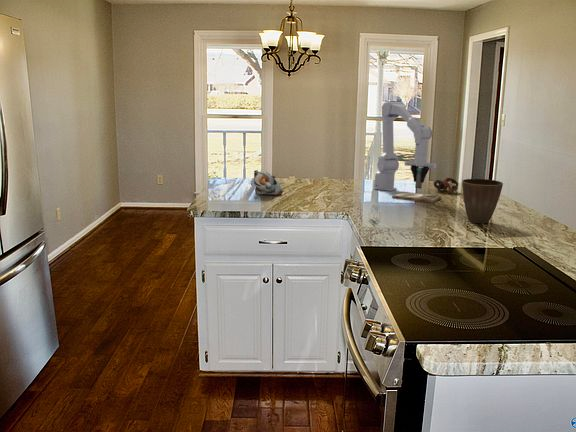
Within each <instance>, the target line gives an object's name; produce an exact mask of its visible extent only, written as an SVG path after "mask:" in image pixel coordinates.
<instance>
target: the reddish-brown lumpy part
mask: <svg viewBox="0 0 576 432" xmlns="http://www.w3.org/2000/svg"><path fill="white" fill-rule="evenodd" d="M449 182H451V183H449ZM437 184H438V185H437ZM451 184H455V185H451ZM433 186H434V188H435V189H437V191H438V192H439V191H440V190H443V191H446V193H447V194H451V193H452V192H455V191H456V192H457V190H458V189H459V187H458V186H459V183H458V181H457V180H456V179H454V178H451V177H445V178H444V179H442V180H439V179H435V180H434V181H433Z"/></svg>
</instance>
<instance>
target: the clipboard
mask: <svg viewBox="0 0 576 432" xmlns="http://www.w3.org/2000/svg"><path fill="white" fill-rule="evenodd" d="M441 198H442V196H441V195H435V194H430V193H429V194H425V193H419V192H418V193H417V192H408V191H400V192H398V193H396V194H394V195H392V199H397V200H406V201H413V202H422V203H429V204H433V203H434V202H437V201H438V200H440V199H441Z"/></svg>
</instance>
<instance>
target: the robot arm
mask: <svg viewBox="0 0 576 432" xmlns="http://www.w3.org/2000/svg"><path fill="white" fill-rule="evenodd" d="M399 117H400V118H402V119H403V120H404V121H405V122H406V126H407V128H408V129H410V131H411V132H412V133H413V138H414V143H415V148H414V161H411V160H405V161H404V166H405V167H406V166H409V167H410V171H411V174H412V177H413V182H414V183H416V173H417V168H422V177H421V183H422V184H423V183H424V182H425V180H426V176H427V174H428V173H429V171H430V169H436V168H437V163H432V162H428V154H429V153H428V152H429V140H430V139H431V138H432V136H433V130H432V129H431V127H430V126H425V124H424V123H422V122H421V121H420V119H419V117H416V116H415V117H414V116H412V114H411V113H410V111H408V109H407V106H406V103H404V102H403V101H385V102H384V103H383V104H382V106H381V119H382V121H381V122H382V125H381V126H382V153H381V154H380V155H379V156H378V161H377V164H376V166H377V167H376V168H377V170H378V171H376V172H375V175H374V187H373V189H374V190H379V191H389V192H392V191H395V190H396V189H397V187H395V173H396V172H397V171H398V169H399V167H400V162H399V159H398V155H397V154H396V153H395V149H394V146H395V145H394V121H395V120H396V119H397V118H399Z"/></svg>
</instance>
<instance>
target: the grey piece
mask: <svg viewBox="0 0 576 432" xmlns="http://www.w3.org/2000/svg"><path fill="white" fill-rule="evenodd" d="M253 184H254V186H255V188H254V191H255V194H257V195H258V196H259V195H260V196H261V195H273V196H281V194H282V193H284V190H283V188H282V187H281V184H280V182H279V180H277V179H276V175H275V174H270V173H269V172H267V171H266V170H261V171H259V170H258V169H255V170H254V171H253Z"/></svg>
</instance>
